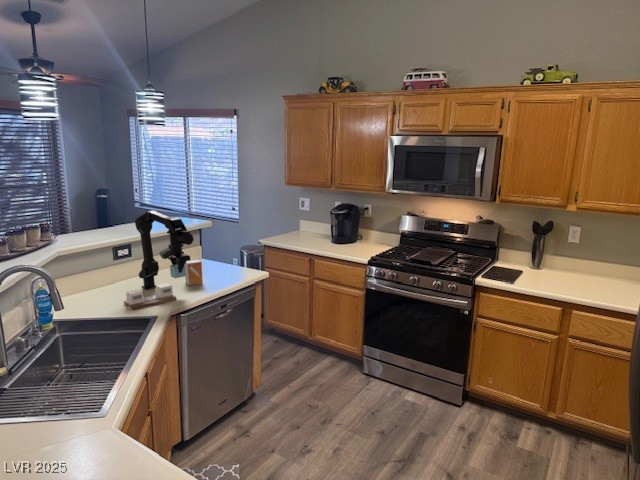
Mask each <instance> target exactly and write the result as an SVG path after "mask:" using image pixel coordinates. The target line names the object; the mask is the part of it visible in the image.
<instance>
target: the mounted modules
mask: <svg viewBox="0 0 640 480" xmlns="http://www.w3.org/2000/svg"><path fill="white" fill-rule="evenodd" d="M155 285H156V287H155V291H156V294H157V295H158V296H160V297H166V296H170V295H174V294H173V285H172V284H170V283H168V282H166V283H161V284H155ZM125 294H126V295H125V297H126V300H127V302H129V303H130V304H136V303H140V302H144V298H143V297H144V292H143V291H142V290H140V289H132V290H129V291H125Z"/></svg>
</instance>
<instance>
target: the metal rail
mask: <svg viewBox="0 0 640 480" xmlns="http://www.w3.org/2000/svg"><path fill="white" fill-rule="evenodd" d="M152 295H153V294H152ZM148 296H149V295H148ZM170 296H175V294H173V295H170ZM170 296H166V297H170ZM143 297H144V296H143ZM166 297H160V296H158V295H153V296H149V297H144V302H148V301H153V300H157V299H161V298H166ZM125 301H126V300H125ZM144 302H140V303H144ZM126 303H127V304H129V305H130V306H131V305H136V304H140V303H136V304H130V303H129V302H127V301H126Z"/></svg>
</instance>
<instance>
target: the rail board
mask: <svg viewBox="0 0 640 480" xmlns="http://www.w3.org/2000/svg"><path fill="white" fill-rule="evenodd" d="M153 295H157V293H154V294H149V295H146V296H144V295H143V298H144V297H149V296H153ZM177 299H178V298H177V296H175V295H174V296H170V297H166V298H161V299H157V300H153V301H148V302H144V303H140V304H136V305H131V306H130V305H129V304H127V303H126V301H127V299H126V300H124V301H123V305H125V306H126V307H128V308H129V309H131V310H132V311H135V310H139V309H140V310H141V309H143V308H149V307H153V306H156V305H162V304H165V303H168V302H173V301H176V300H177Z"/></svg>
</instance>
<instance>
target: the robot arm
mask: <svg viewBox="0 0 640 480" xmlns="http://www.w3.org/2000/svg"><path fill="white" fill-rule="evenodd" d="M154 222H157V223H159V224H162V225H163V226H164V227H165V228H166V229H168V230H167V231H166V234H167V235H169V244H168V245H167V246H168V247H167V248H165V249H163V250H160V251H159V252H158V254H159V256H160V257H161V259H163V260H167V259H168V260H169V261H170V262H171V263H170V264H171V265H174V264H177V265H178V270H179V273H181V272H182V270H183V267H184V265H185V263H186V261H191V256H190V255H189V254H186V253H185V252H184V251H183V247H184V245H187V246H188V245H189V246H190V245H192V244H193V242H194V236H193V234H192V233H191V231H190V230H188V229H187V227H186V225H185V223H184V221H183V220H182V218H180V217H176V216H172V217H171V216H168V215H165V214H163V213H160V212H158V211H156V210H147V211H146V212H145V213H144V214H142V215H140V216H139V217H137V218H135V221H134V224H135V228H136V230H137V232H138V233H139V234H140V240H141V241H140V242H141V247H142V255H143V260H142V263H141V270H140V271H139V273H138V277H139V279H143V281H142V282H143V285H141V288H142V289H144V290H150V289H156V285H157V284H156V283H155V277H156V276H158V274H159V270H160V267H159V261H157V260H156V259H155V258H154V253H153V252H154V250H153V245H152V244H153V243H152V238H151V237H152V236H151V232H152V229H153V223H154Z"/></svg>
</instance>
